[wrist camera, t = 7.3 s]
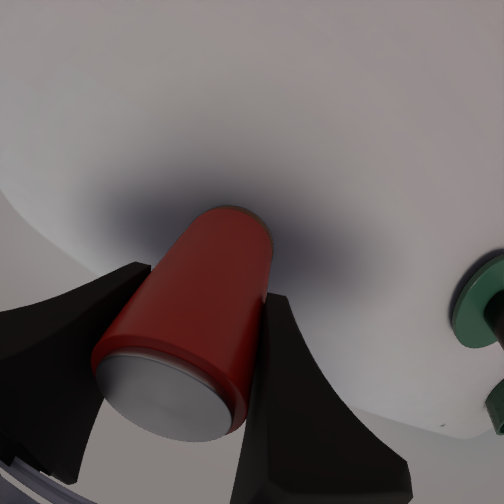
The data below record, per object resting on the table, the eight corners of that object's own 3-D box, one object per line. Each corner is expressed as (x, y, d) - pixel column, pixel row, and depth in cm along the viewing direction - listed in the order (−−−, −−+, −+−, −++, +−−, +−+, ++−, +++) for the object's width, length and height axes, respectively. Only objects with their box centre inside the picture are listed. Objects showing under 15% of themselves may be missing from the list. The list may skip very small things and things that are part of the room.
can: (243, 302, 14) (204, 459, 7) (171, 262, 14) (79, 397, 7) (289, 239, 13) (282, 405, 5) (207, 191, 12) (96, 309, 5)
